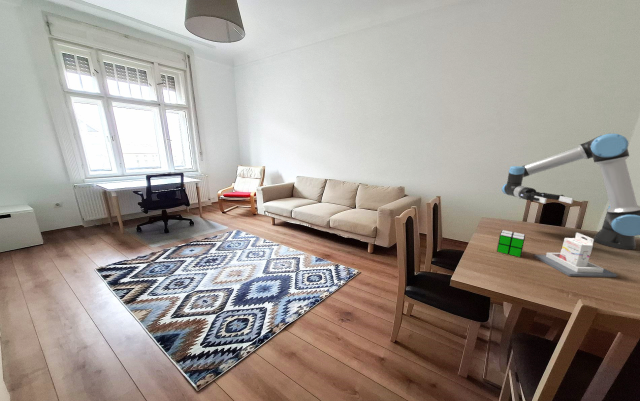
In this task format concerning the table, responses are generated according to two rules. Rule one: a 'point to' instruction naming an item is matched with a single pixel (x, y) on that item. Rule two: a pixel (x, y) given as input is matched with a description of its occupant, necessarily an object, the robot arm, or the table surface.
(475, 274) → the table surface
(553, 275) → the table surface
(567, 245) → the ink cartridge box
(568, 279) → the table surface
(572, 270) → the cartridge dock
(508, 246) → the puzzle cube
